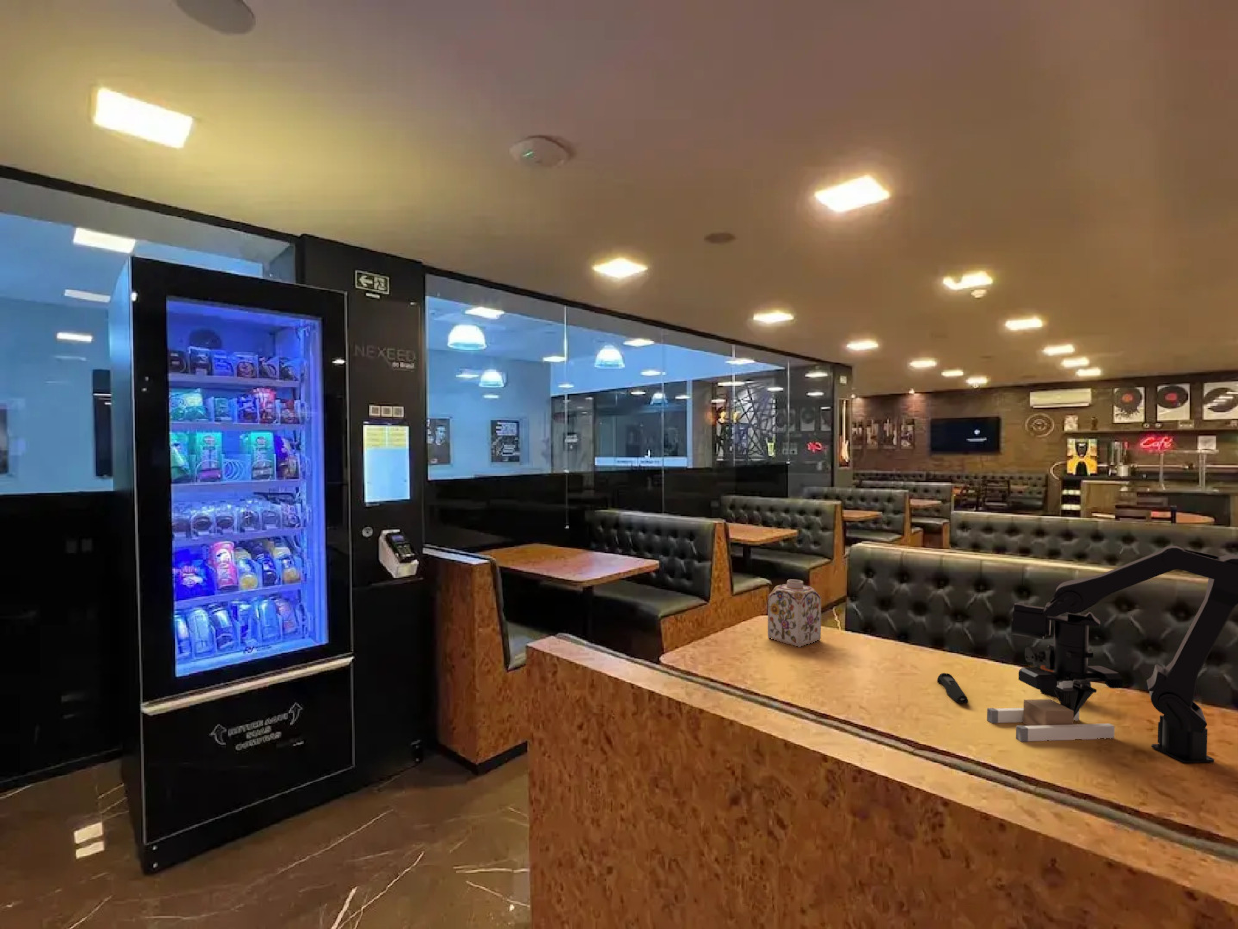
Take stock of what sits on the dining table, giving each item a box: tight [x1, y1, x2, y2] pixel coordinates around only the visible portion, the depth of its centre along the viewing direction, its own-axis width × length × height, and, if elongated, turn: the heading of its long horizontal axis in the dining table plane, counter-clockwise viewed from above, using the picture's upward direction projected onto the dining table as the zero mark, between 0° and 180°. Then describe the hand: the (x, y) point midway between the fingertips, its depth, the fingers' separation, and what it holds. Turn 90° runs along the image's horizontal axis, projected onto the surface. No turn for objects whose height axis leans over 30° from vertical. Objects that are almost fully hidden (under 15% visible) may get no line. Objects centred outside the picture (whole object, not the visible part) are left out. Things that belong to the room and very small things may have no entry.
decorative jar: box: [767, 578, 822, 648], centre depth 187 cm, size 12×12×18 cm
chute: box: [986, 707, 1115, 743], centre depth 127 cm, size 10×20×3 cm, turn 95°
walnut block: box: [1022, 698, 1074, 726], centre depth 127 cm, size 6×6×5 cm
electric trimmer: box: [936, 672, 969, 704], centre depth 146 cm, size 4×16×3 cm, turn 166°
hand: (1069, 718), depth 128 cm, fingers closed
